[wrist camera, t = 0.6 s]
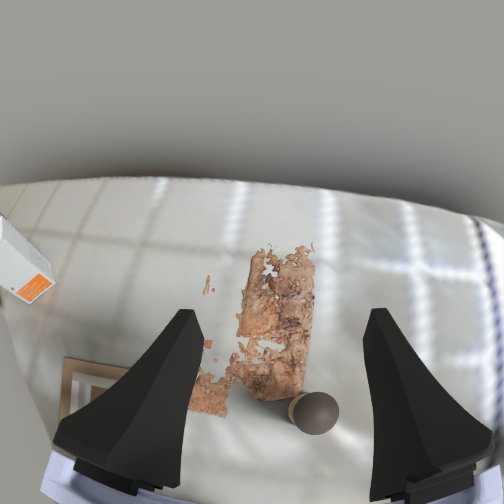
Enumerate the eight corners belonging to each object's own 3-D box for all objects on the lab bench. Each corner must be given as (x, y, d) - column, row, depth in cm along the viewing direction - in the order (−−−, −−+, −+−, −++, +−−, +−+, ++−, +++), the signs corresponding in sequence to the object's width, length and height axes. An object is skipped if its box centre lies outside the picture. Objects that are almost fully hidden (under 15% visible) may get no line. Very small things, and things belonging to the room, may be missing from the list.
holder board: (171, 465, 21) (161, 472, 18) (62, 435, 21) (47, 436, 19) (173, 374, 26) (163, 371, 23) (67, 358, 26) (52, 352, 24)
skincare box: (30, 306, 30) (-28, 267, 19) (25, 283, 32) (-27, 242, 21) (57, 283, 31) (1, 236, 21) (52, 261, 33) (1, 213, 23)
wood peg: (324, 425, 23) (339, 432, 17) (287, 428, 23) (293, 436, 18) (323, 392, 24) (338, 389, 19) (287, 394, 24) (293, 393, 19)
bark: (305, 422, 23) (305, 422, 23) (185, 410, 24) (184, 410, 24) (311, 231, 34) (311, 228, 33) (216, 226, 35) (215, 223, 34)
